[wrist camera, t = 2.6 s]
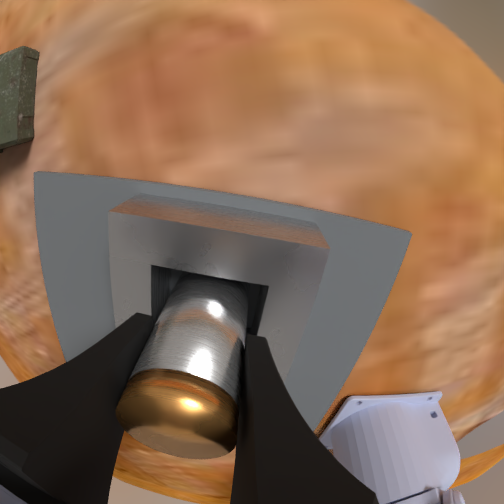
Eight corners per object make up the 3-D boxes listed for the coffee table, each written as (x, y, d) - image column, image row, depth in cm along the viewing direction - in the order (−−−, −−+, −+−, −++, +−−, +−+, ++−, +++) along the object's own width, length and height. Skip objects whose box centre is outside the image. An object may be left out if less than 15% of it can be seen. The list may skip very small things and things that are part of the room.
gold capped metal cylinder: (255, 262, 13) (246, 413, 6) (243, 321, 14) (229, 465, 7) (182, 249, 13) (105, 381, 6) (178, 309, 14) (125, 442, 7)
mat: (408, 231, 13) (412, 233, 12) (308, 434, 20) (309, 437, 20) (38, 171, 12) (33, 172, 12) (78, 387, 19) (77, 390, 19)
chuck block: (315, 222, 12) (330, 249, 10) (276, 355, 16) (278, 396, 13) (139, 193, 12) (108, 211, 9) (140, 330, 15) (121, 365, 13)
